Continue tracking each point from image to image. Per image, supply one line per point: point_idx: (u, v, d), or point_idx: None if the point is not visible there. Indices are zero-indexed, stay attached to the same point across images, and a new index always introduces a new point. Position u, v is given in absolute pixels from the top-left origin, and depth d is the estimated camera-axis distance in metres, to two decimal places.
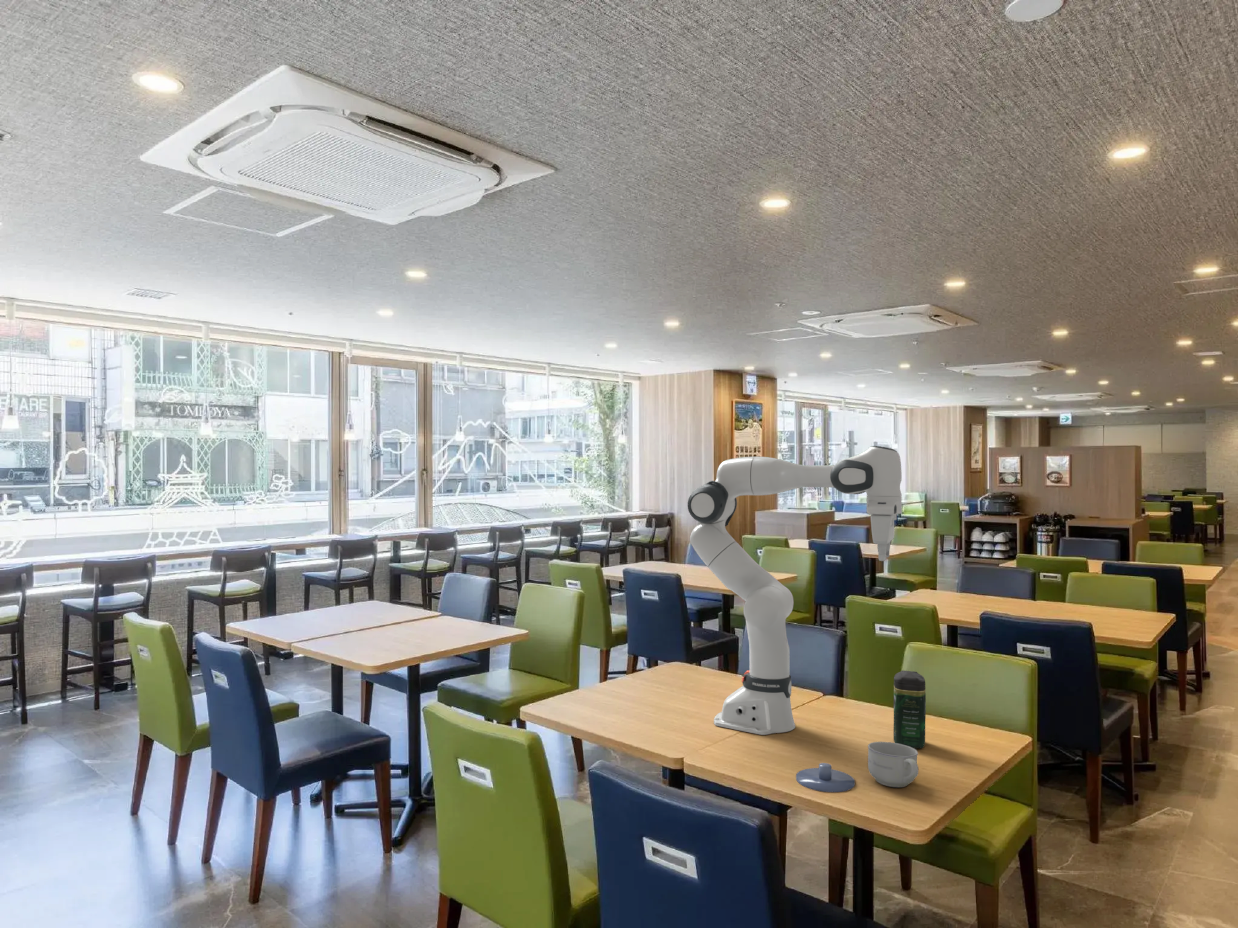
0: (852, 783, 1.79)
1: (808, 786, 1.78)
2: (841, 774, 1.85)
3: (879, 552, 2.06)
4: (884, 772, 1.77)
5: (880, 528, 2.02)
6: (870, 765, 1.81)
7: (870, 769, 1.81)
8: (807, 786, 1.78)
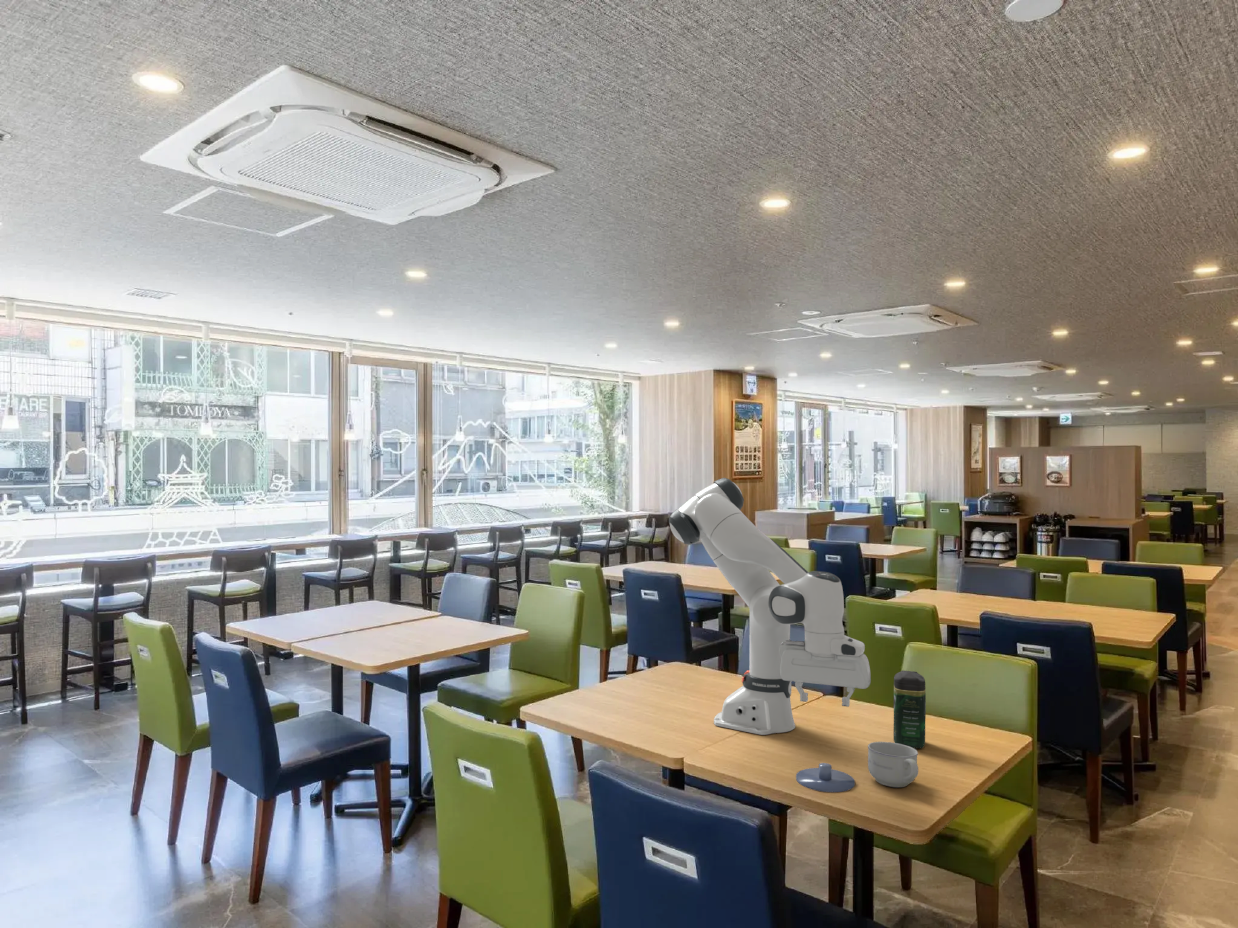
0: (852, 783, 1.79)
1: (808, 786, 1.78)
2: (841, 774, 1.85)
3: (850, 696, 1.80)
4: (884, 772, 1.77)
5: (868, 669, 1.79)
6: (870, 765, 1.81)
7: (870, 769, 1.81)
8: (807, 786, 1.78)
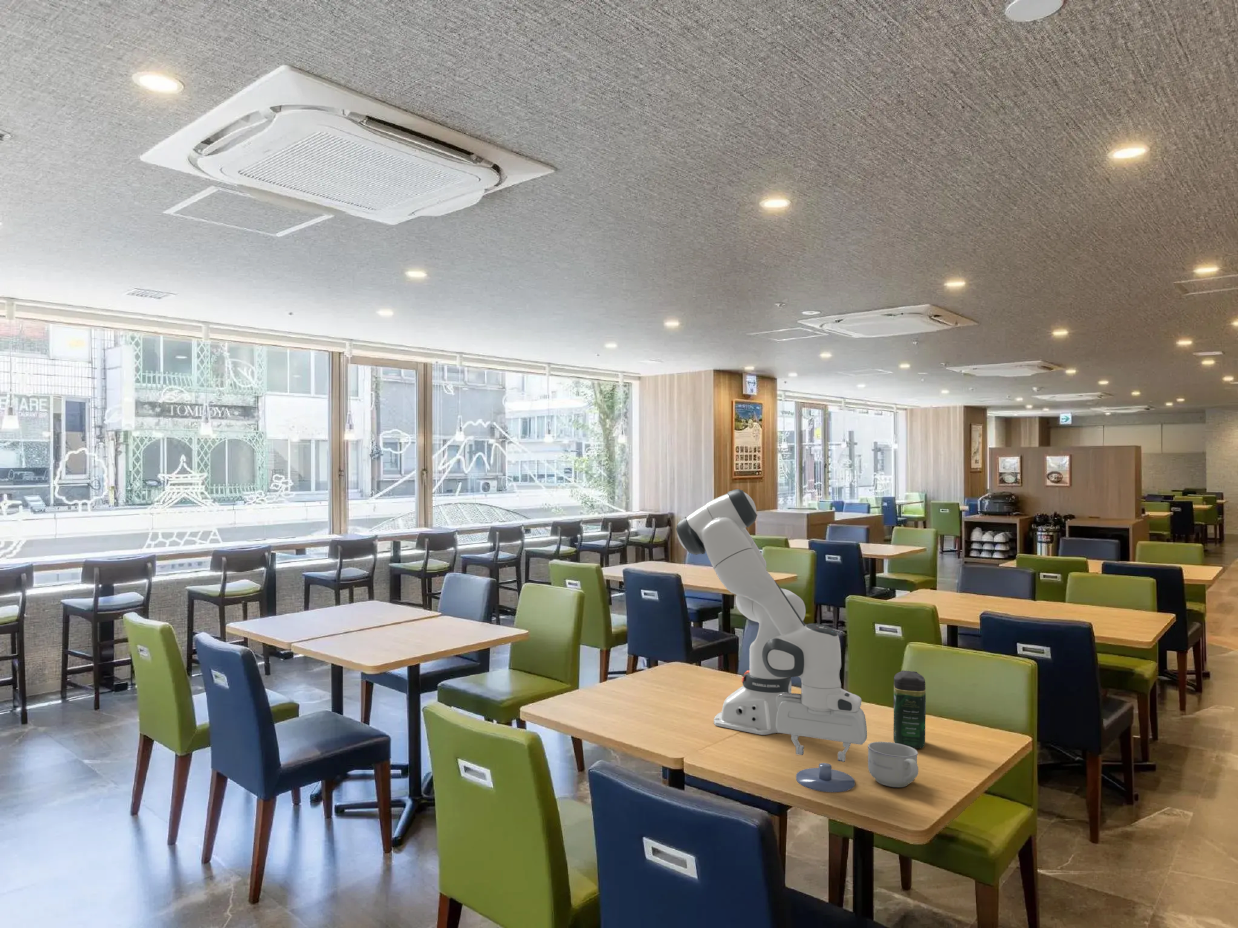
0: (852, 783, 1.79)
1: (808, 786, 1.78)
2: (841, 774, 1.85)
3: None
4: (884, 772, 1.77)
5: (865, 725, 1.78)
6: (870, 765, 1.81)
7: (870, 769, 1.81)
8: (807, 786, 1.78)
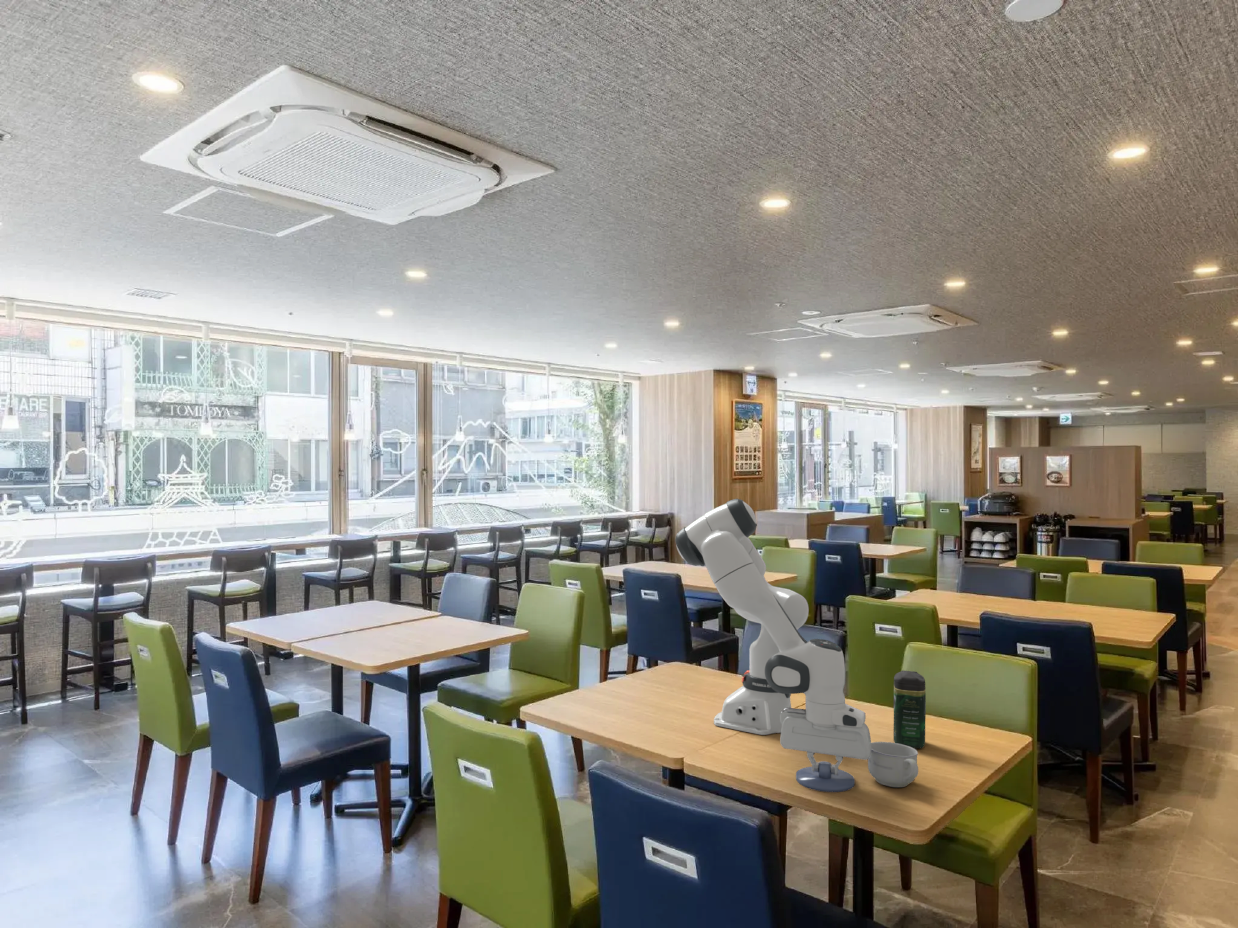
0: (852, 781, 1.79)
1: (808, 784, 1.78)
2: (841, 772, 1.85)
3: None
4: (884, 772, 1.77)
5: (869, 740, 1.78)
6: (870, 765, 1.81)
7: (870, 769, 1.81)
8: (807, 784, 1.78)
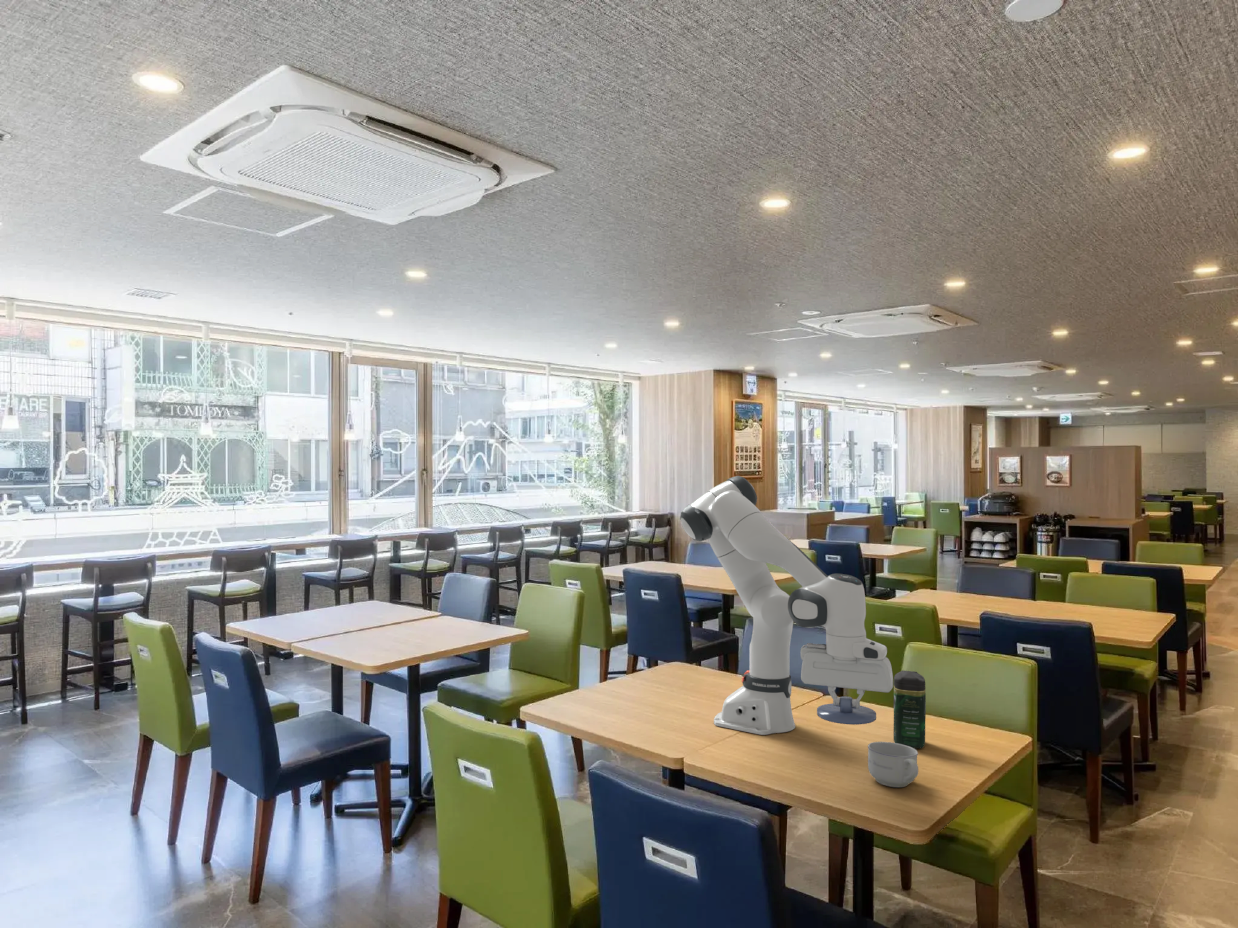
0: (873, 715, 1.78)
1: (829, 717, 1.77)
2: (862, 708, 1.84)
3: None
4: (884, 772, 1.77)
5: (891, 673, 1.77)
6: (870, 765, 1.81)
7: (870, 769, 1.81)
8: (828, 718, 1.77)
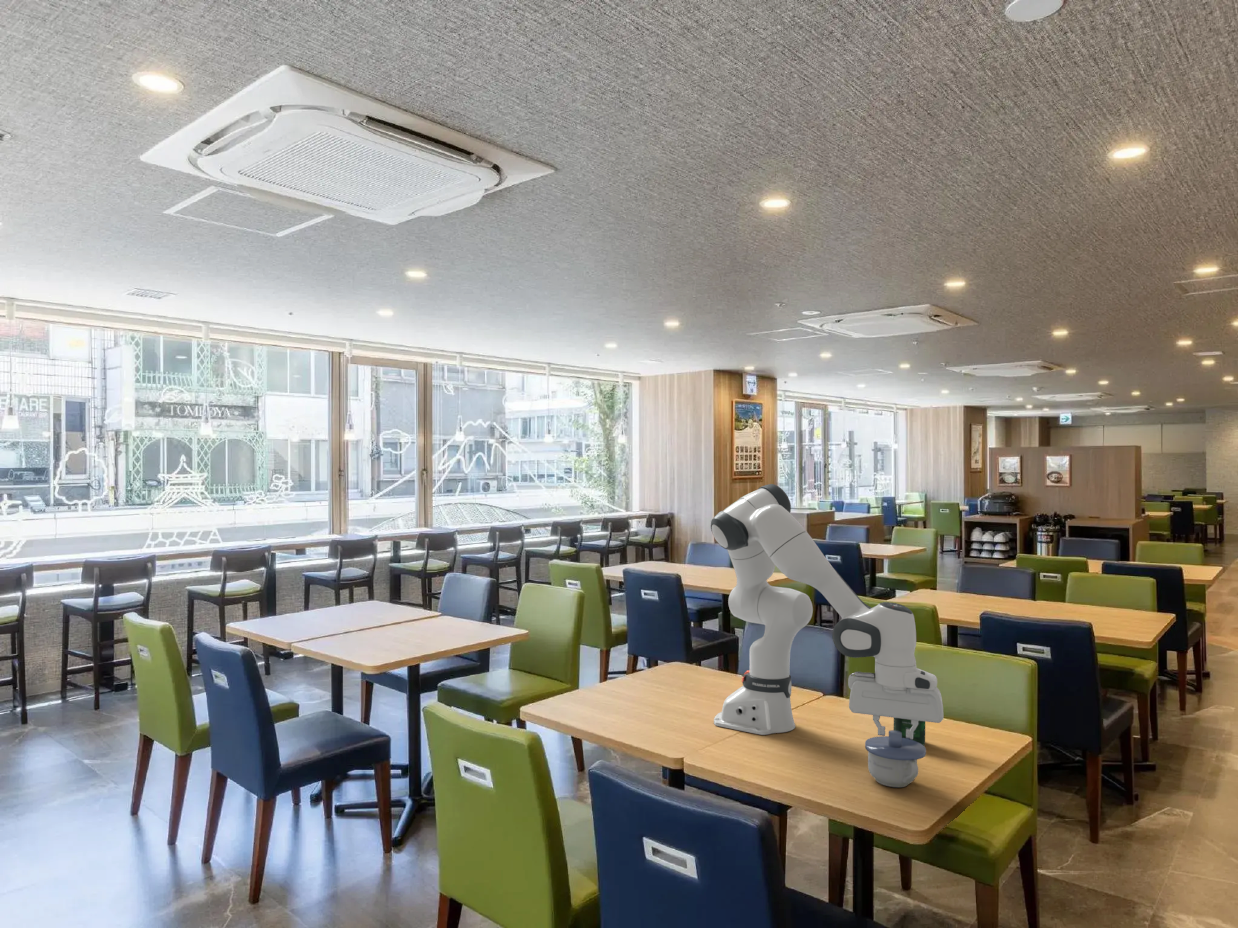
0: (924, 750, 1.77)
1: (879, 753, 1.76)
2: (910, 742, 1.82)
3: (914, 729, 1.78)
4: (884, 772, 1.77)
5: (942, 703, 1.76)
6: (870, 765, 1.81)
7: (870, 769, 1.81)
8: (878, 753, 1.76)
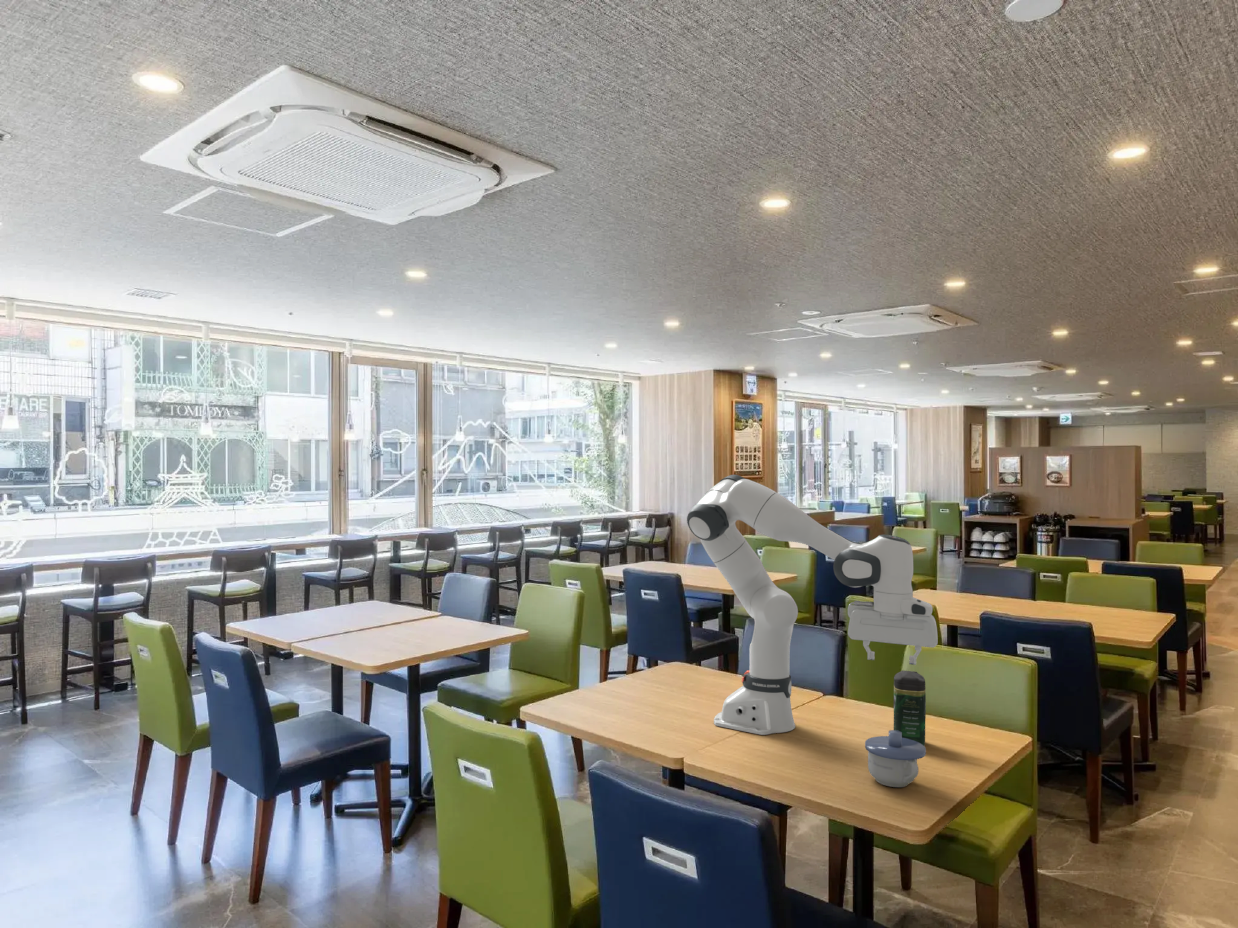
0: (923, 750, 1.77)
1: (880, 753, 1.76)
2: (910, 742, 1.83)
3: (917, 655, 1.86)
4: (884, 772, 1.77)
5: (936, 629, 1.85)
6: (870, 765, 1.81)
7: (870, 769, 1.81)
8: (879, 753, 1.76)
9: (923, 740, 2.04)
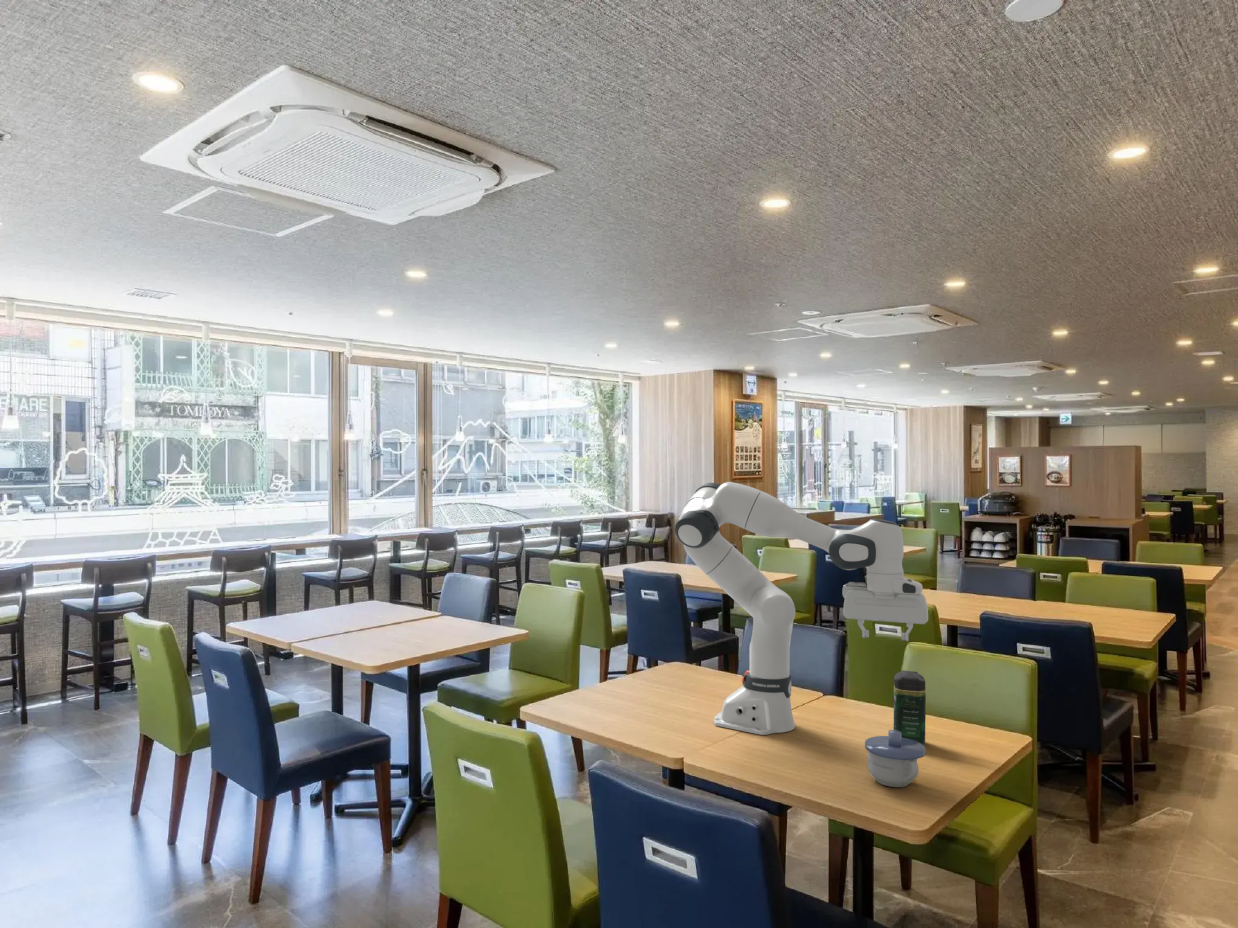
0: (923, 749, 1.77)
1: (880, 752, 1.76)
2: (910, 741, 1.83)
3: (909, 632, 1.96)
4: (884, 772, 1.77)
5: None
6: (870, 765, 1.81)
7: (870, 769, 1.81)
8: (879, 752, 1.76)
9: (923, 740, 2.04)
